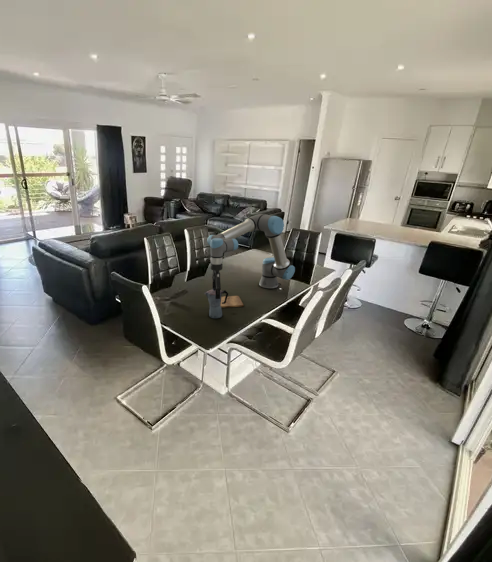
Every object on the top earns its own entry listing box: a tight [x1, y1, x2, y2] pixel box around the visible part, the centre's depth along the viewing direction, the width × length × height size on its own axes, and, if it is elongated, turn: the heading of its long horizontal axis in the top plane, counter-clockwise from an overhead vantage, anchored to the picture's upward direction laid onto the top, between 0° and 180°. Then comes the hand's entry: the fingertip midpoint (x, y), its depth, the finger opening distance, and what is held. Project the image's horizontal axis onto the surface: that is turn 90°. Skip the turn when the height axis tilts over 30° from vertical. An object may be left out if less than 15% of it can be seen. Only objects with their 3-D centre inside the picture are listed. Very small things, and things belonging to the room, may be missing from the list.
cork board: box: [220, 295, 244, 309], centre depth 232 cm, size 18×16×1 cm
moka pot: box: [204, 287, 229, 319], centre depth 210 cm, size 10×15×20 cm, turn 95°
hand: (216, 294), depth 208 cm, fingers open, 13 cm apart
